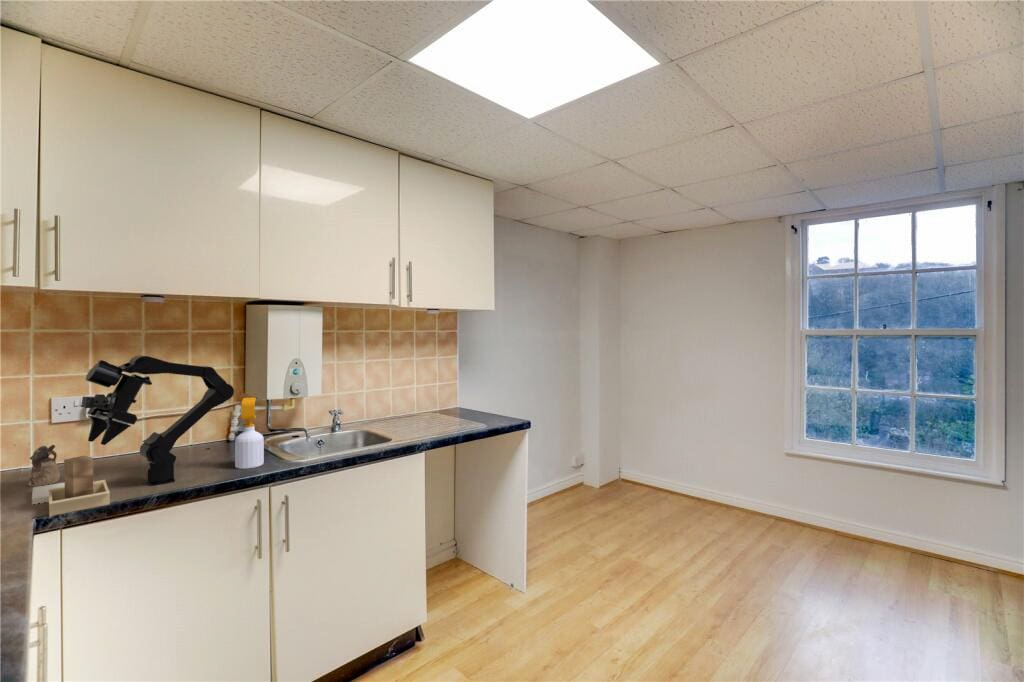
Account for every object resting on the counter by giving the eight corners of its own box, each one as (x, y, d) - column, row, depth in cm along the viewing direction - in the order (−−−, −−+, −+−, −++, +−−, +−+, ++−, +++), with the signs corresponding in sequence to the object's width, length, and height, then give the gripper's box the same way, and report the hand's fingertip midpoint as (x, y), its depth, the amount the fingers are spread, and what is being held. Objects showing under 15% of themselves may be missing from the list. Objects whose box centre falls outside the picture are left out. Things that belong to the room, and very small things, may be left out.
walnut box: (84, 500, 136) (83, 455, 136) (93, 502, 135) (92, 457, 134) (64, 505, 132) (64, 459, 132) (73, 508, 131) (73, 461, 130)
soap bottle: (264, 461, 177) (264, 395, 177) (262, 467, 169) (261, 399, 168) (237, 463, 174) (236, 397, 173) (233, 470, 166) (232, 400, 165)
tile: (77, 484, 149) (77, 480, 149) (80, 496, 140) (80, 491, 140) (32, 492, 142) (32, 487, 142) (32, 505, 133) (31, 499, 132)
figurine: (33, 481, 153) (32, 444, 152) (62, 478, 156) (62, 441, 156) (24, 487, 146) (24, 449, 146) (55, 484, 150) (55, 446, 150)
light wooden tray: (105, 492, 143) (105, 479, 143) (110, 505, 132) (110, 492, 132) (49, 502, 135) (48, 489, 135) (49, 517, 124) (49, 503, 124)
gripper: (82, 382, 144) (51, 431, 138) (108, 384, 134) (76, 438, 128) (122, 395, 152) (95, 442, 146) (149, 398, 143) (121, 449, 136)
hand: (96, 443), depth 139 cm, fingers open, 9 cm apart
